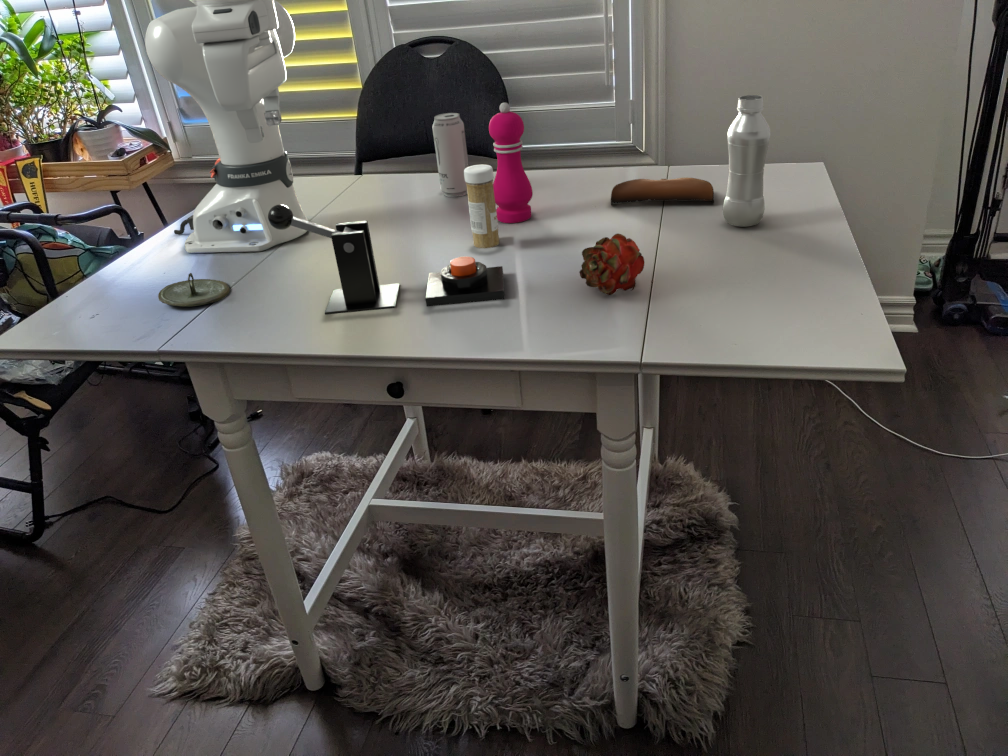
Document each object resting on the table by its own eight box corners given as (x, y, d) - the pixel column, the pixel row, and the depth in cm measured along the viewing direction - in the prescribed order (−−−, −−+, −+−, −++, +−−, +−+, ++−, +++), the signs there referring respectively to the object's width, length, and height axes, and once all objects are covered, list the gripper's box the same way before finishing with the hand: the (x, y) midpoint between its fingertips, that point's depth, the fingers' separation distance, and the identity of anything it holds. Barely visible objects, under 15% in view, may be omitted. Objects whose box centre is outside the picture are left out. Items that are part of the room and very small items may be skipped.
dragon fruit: (594, 318, 110) (618, 293, 120) (644, 286, 105) (665, 264, 116) (559, 266, 109) (586, 246, 119) (608, 232, 105) (632, 214, 115)
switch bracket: (326, 320, 114) (308, 241, 108) (335, 296, 121) (318, 221, 115) (396, 313, 113) (382, 234, 107) (401, 290, 120) (388, 214, 114)
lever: (263, 228, 109) (268, 205, 107) (268, 220, 112) (273, 198, 110) (356, 258, 112) (363, 236, 110) (360, 249, 114) (366, 228, 113)
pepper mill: (542, 216, 143) (534, 101, 133) (509, 227, 140) (498, 109, 130) (519, 208, 148) (509, 96, 138) (486, 218, 145) (474, 104, 135)
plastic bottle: (748, 214, 134) (756, 90, 124) (772, 226, 129) (782, 97, 119) (714, 221, 133) (719, 97, 123) (736, 234, 127) (744, 104, 117)
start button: (451, 278, 113) (449, 267, 112) (451, 268, 116) (450, 257, 115) (476, 276, 113) (475, 264, 112) (476, 266, 116) (475, 255, 115)
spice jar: (506, 248, 131) (498, 166, 125) (482, 255, 129) (473, 173, 123) (491, 241, 135) (482, 161, 128) (467, 248, 133) (458, 168, 126)
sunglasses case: (713, 188, 146) (715, 162, 140) (713, 218, 143) (714, 193, 137) (614, 190, 150) (612, 165, 145) (612, 220, 147) (609, 195, 141)
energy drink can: (439, 191, 162) (428, 115, 154) (468, 186, 163) (459, 110, 155) (444, 199, 157) (433, 121, 149) (474, 194, 158) (465, 116, 150)
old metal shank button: (156, 313, 125) (140, 288, 122) (206, 276, 130) (191, 251, 126) (194, 331, 119) (177, 305, 116) (244, 292, 124) (230, 266, 120)
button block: (427, 312, 113) (423, 286, 111) (431, 286, 121) (427, 261, 119) (505, 305, 113) (502, 278, 111) (503, 279, 120) (501, 254, 118)
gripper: (237, 11, 106) (262, 117, 113) (185, 29, 89) (219, 154, 95) (284, 6, 106) (306, 113, 113) (242, 23, 88) (271, 149, 95)
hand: (266, 132), depth 104 cm, fingers open, 8 cm apart
